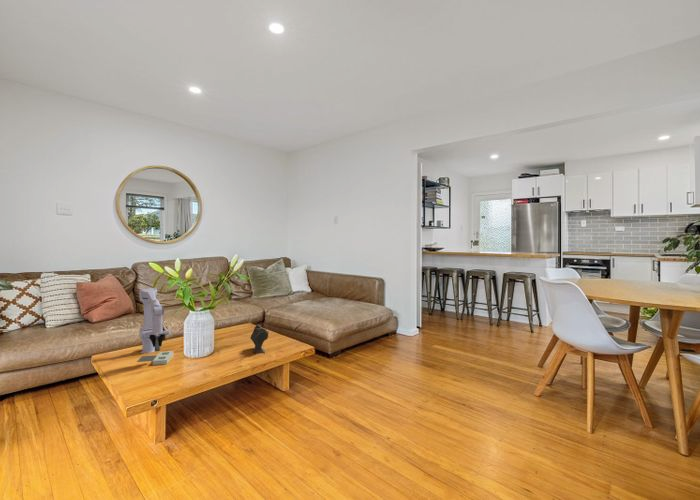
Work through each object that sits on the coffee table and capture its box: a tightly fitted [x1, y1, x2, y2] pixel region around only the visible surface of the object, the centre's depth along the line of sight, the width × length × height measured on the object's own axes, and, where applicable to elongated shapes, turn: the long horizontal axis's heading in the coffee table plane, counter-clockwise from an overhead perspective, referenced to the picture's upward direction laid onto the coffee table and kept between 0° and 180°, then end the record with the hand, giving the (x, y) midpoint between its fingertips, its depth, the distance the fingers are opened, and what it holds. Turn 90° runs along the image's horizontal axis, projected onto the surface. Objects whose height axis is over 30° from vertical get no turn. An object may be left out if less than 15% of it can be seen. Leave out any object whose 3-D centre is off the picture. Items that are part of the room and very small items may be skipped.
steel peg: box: [154, 335, 161, 352], centre depth 212 cm, size 3×3×9 cm
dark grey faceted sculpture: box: [249, 324, 269, 355], centre depth 240 cm, size 14×15×18 cm
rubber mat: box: [136, 354, 158, 363], centre depth 216 cm, size 10×10×1 cm
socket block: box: [152, 350, 174, 366], centre depth 215 cm, size 16×8×3 cm, turn 15°
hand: (157, 346), depth 212 cm, fingers closed on steel peg, 3 cm apart
